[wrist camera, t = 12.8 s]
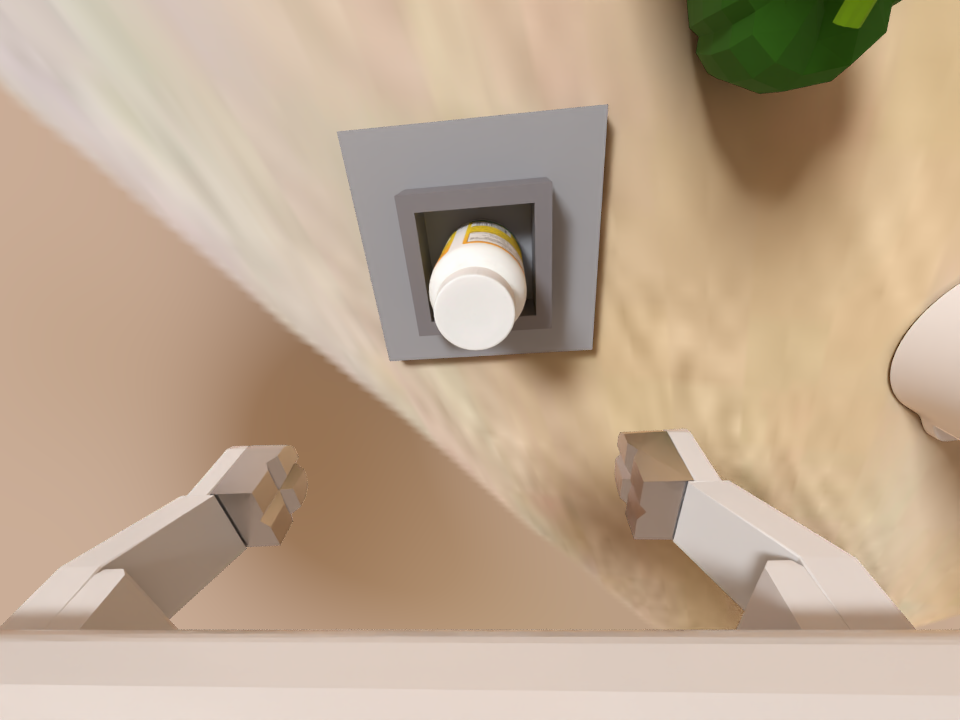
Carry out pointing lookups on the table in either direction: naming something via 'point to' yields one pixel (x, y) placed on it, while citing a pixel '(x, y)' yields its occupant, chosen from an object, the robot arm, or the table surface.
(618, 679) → the robot arm
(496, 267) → the supplement bottle
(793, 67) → the bell pepper
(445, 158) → the bottle stand
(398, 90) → the table surface
